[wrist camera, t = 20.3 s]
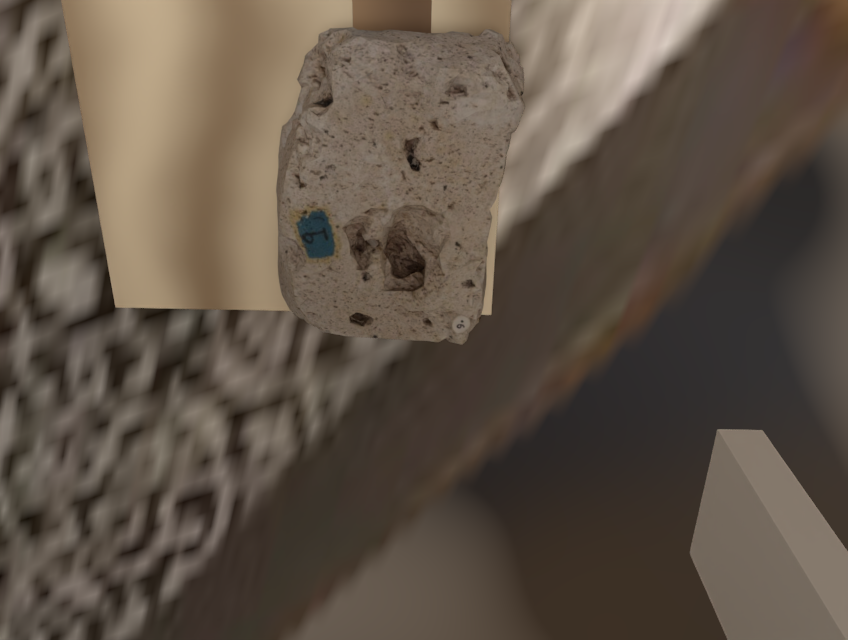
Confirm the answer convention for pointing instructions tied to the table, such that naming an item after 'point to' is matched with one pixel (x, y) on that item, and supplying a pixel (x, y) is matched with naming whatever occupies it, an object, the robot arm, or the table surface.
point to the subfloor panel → (213, 132)
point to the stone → (394, 180)
